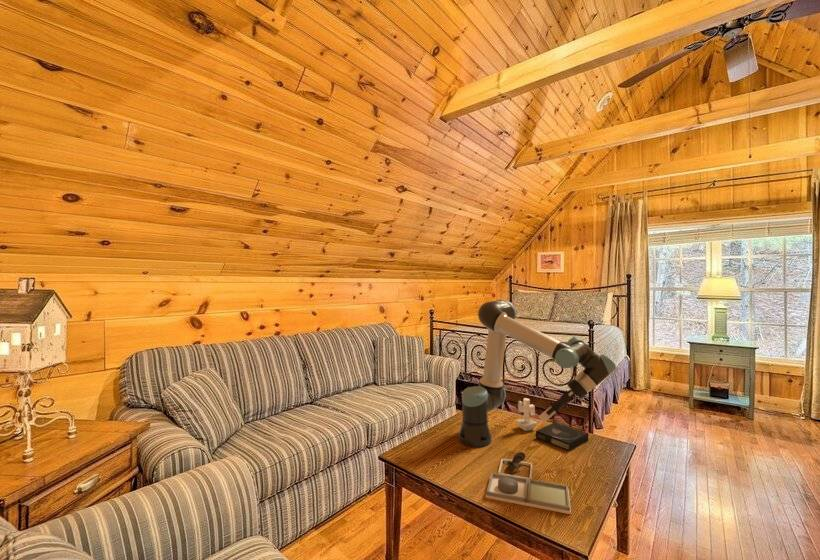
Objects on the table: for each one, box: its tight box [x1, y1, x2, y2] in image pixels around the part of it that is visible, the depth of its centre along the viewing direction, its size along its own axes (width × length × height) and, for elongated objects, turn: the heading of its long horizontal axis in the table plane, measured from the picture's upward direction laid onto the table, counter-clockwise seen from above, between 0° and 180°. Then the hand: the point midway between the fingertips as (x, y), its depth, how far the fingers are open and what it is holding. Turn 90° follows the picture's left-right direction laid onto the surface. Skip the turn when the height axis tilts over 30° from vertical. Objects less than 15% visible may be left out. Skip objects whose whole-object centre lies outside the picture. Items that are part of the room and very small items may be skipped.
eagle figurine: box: [503, 451, 526, 475], centre depth 151 cm, size 8×7×9 cm
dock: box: [485, 472, 572, 515], centre depth 135 cm, size 27×13×3 cm, turn 70°
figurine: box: [515, 397, 538, 432], centre depth 189 cm, size 7×9×15 cm
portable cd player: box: [535, 421, 589, 452], centre depth 177 cm, size 16×17×4 cm
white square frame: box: [497, 458, 533, 482], centre depth 150 cm, size 12×12×1 cm
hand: (541, 419), depth 155 cm, fingers open, 13 cm apart
